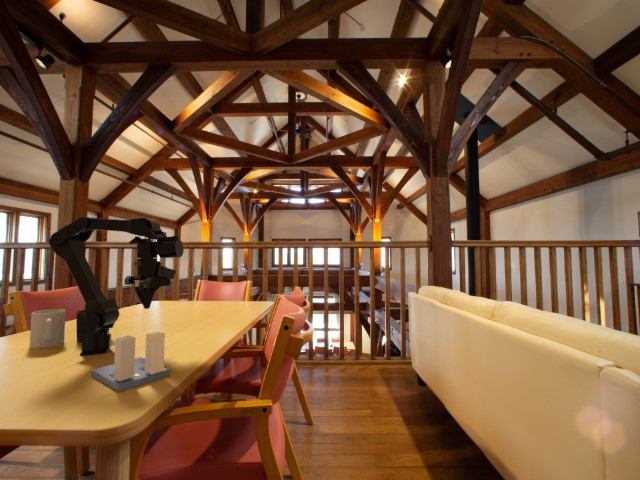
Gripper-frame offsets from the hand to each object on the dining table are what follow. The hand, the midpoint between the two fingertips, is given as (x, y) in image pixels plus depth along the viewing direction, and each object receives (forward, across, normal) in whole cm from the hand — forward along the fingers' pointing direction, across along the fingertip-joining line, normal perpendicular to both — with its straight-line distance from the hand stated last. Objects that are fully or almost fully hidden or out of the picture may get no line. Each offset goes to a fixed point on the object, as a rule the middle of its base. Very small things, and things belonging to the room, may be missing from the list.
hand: (147, 308), depth 94 cm
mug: (+12, +31, +17) cm, 37 cm away
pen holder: (+13, +28, +6) cm, 32 cm away
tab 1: (+12, -21, +14) cm, 28 cm away
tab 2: (+12, -23, +8) cm, 27 cm away
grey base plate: (+13, -16, +11) cm, 23 cm away
